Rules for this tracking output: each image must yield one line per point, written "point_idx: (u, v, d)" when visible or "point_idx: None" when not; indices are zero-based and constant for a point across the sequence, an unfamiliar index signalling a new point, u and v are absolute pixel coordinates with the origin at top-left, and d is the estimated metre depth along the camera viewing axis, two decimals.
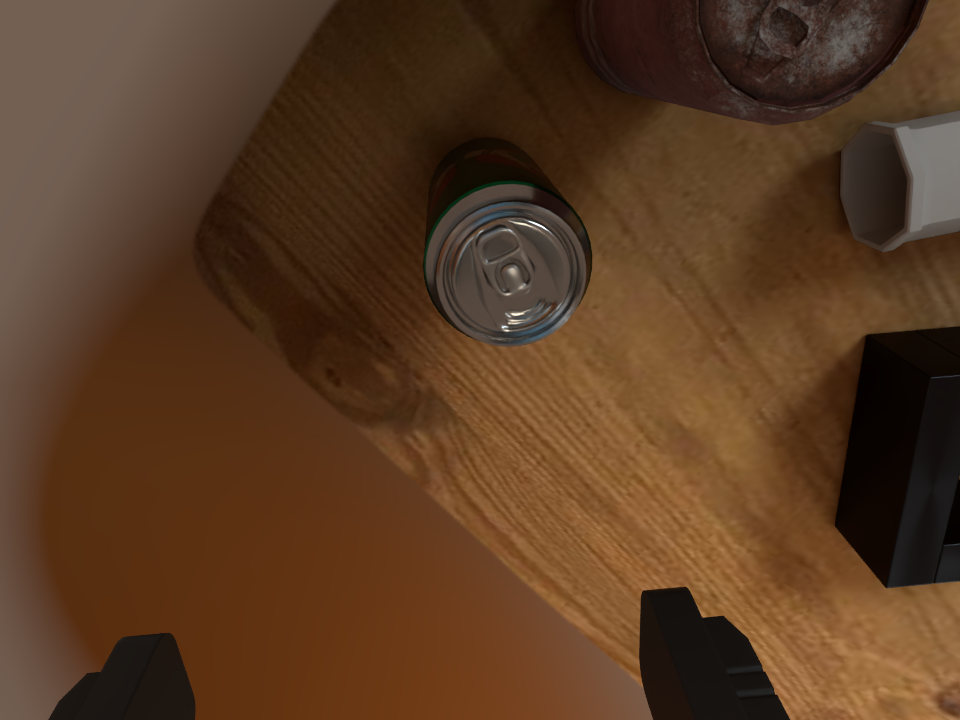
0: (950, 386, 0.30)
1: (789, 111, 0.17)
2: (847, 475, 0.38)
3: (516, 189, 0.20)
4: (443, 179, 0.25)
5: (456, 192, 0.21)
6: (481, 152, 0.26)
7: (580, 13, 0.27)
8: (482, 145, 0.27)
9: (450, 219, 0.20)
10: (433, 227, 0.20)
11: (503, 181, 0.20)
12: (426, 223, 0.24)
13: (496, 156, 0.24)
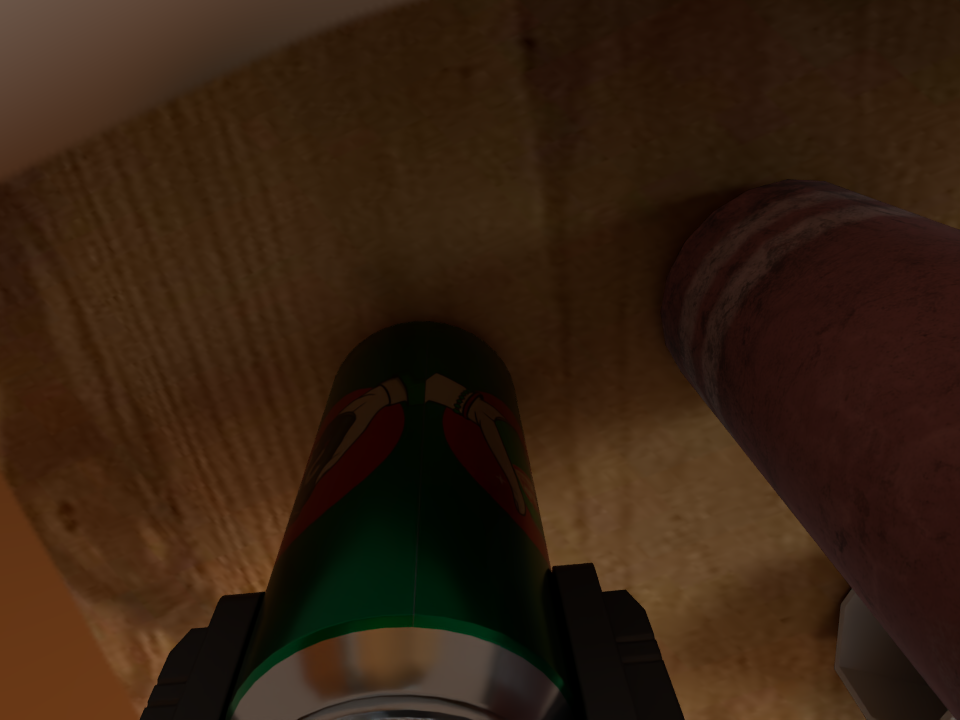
0: None
1: None
2: None
3: (501, 666, 0.09)
4: (373, 422, 0.14)
5: (380, 565, 0.10)
6: (455, 396, 0.15)
7: (700, 260, 0.16)
8: (460, 363, 0.16)
9: (338, 661, 0.09)
10: (296, 642, 0.09)
11: (483, 628, 0.09)
12: (303, 503, 0.12)
13: (478, 438, 0.14)
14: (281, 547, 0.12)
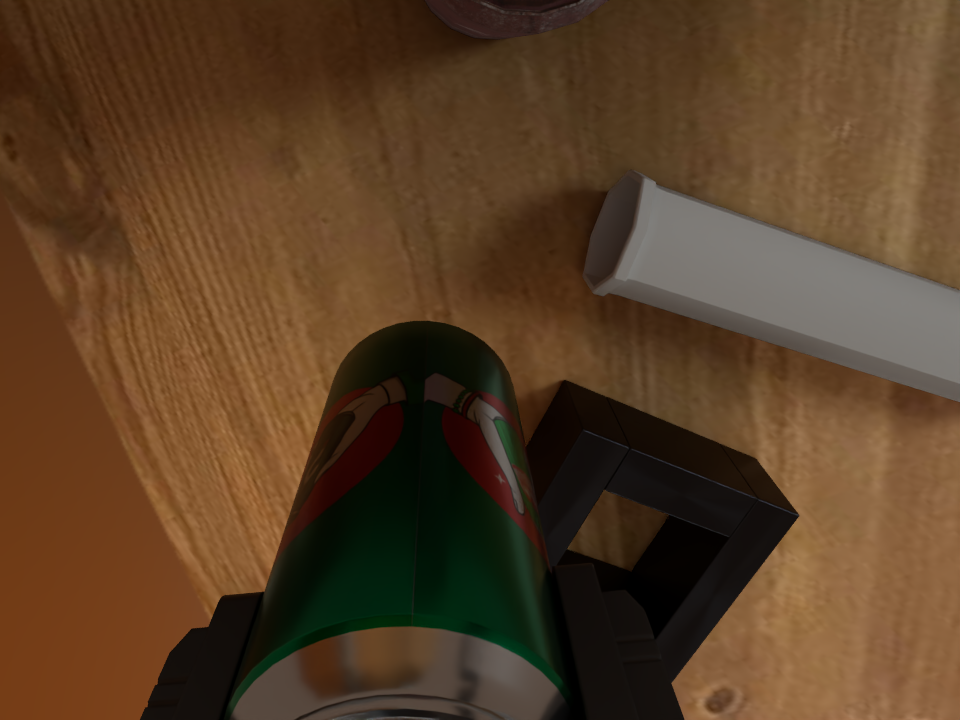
0: (596, 445, 0.31)
1: None
2: None
3: (499, 665, 0.09)
4: (372, 421, 0.14)
5: (379, 564, 0.10)
6: (454, 396, 0.15)
7: None
8: (459, 363, 0.16)
9: (337, 660, 0.09)
10: (295, 641, 0.09)
11: (482, 627, 0.09)
12: (303, 503, 0.12)
13: (477, 438, 0.14)
14: (280, 546, 0.12)
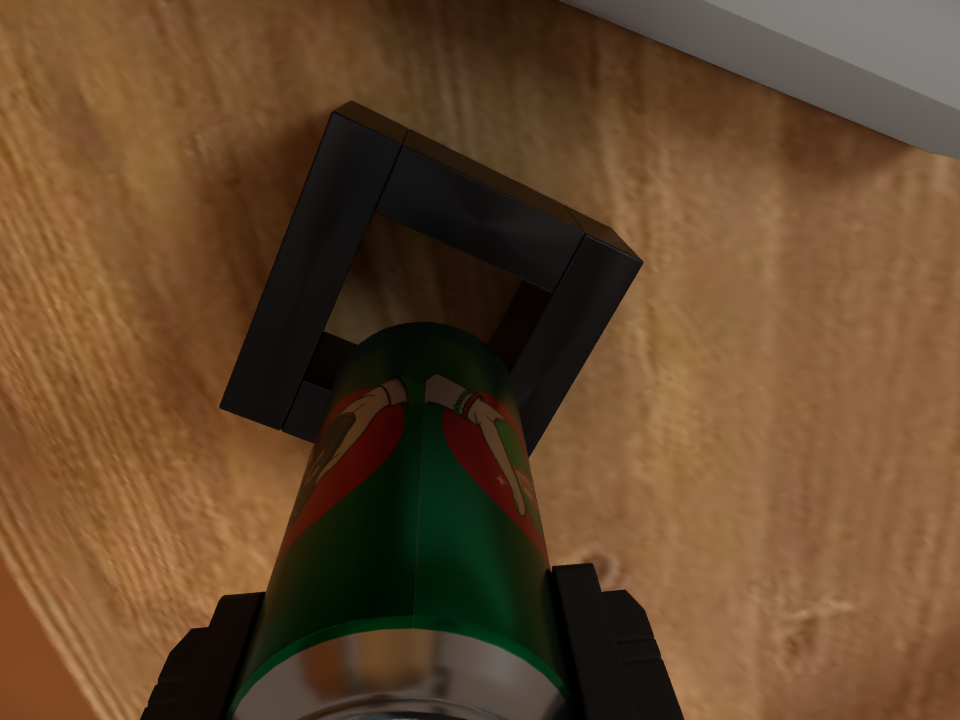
0: (354, 138, 0.23)
1: None
2: None
3: (500, 667, 0.09)
4: (373, 423, 0.14)
5: (380, 566, 0.10)
6: (455, 397, 0.15)
7: None
8: (460, 364, 0.16)
9: (338, 662, 0.09)
10: (296, 643, 0.09)
11: (483, 629, 0.09)
12: (303, 505, 0.12)
13: (478, 439, 0.14)
14: (281, 548, 0.12)
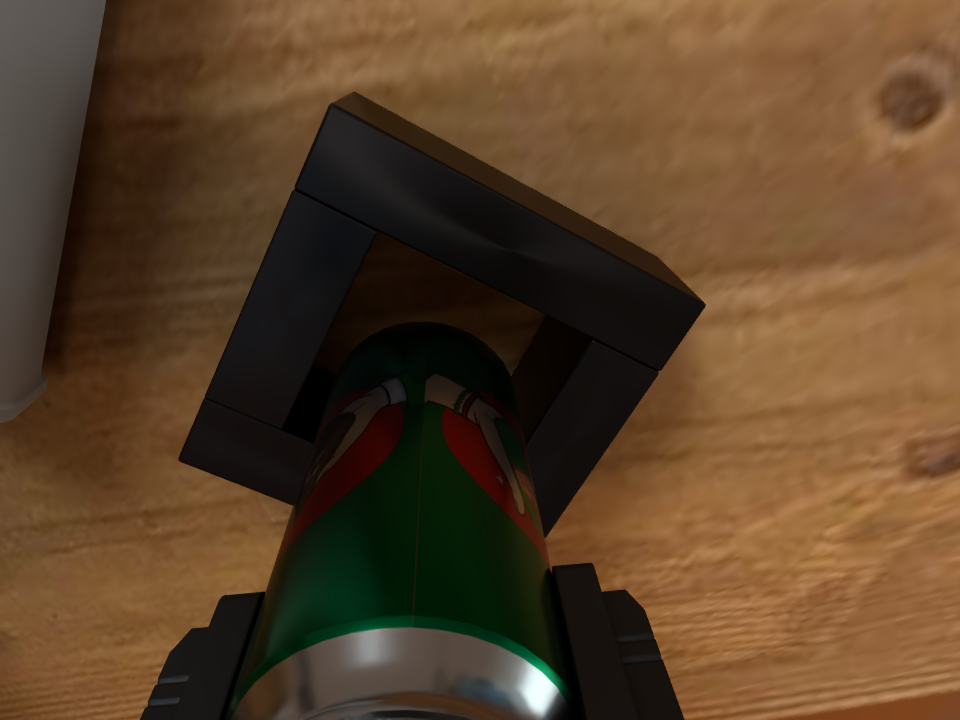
0: (203, 443, 0.21)
1: None
2: None
3: (501, 666, 0.09)
4: (373, 422, 0.14)
5: (380, 566, 0.10)
6: (455, 397, 0.15)
7: None
8: (459, 363, 0.16)
9: (338, 661, 0.09)
10: (296, 642, 0.09)
11: (483, 628, 0.09)
12: (303, 504, 0.12)
13: (477, 439, 0.14)
14: (281, 548, 0.12)
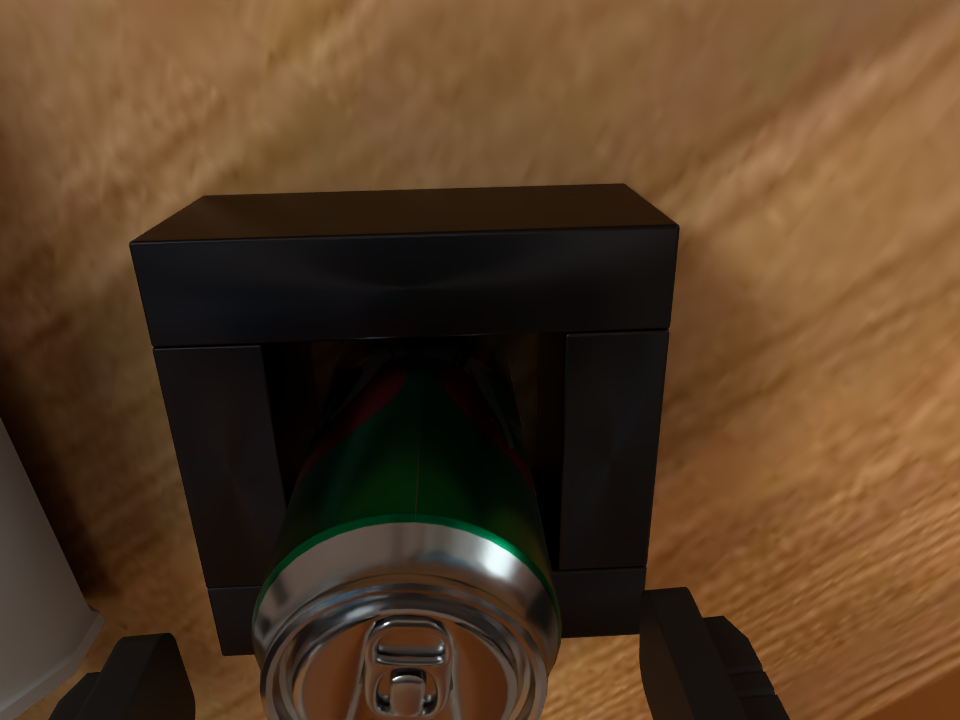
0: (234, 630, 0.19)
1: None
2: None
3: (490, 556, 0.11)
4: (378, 373, 0.15)
5: (387, 478, 0.11)
6: (452, 353, 0.16)
7: None
8: None
9: (351, 549, 0.10)
10: (316, 536, 0.11)
11: (474, 525, 0.11)
12: (317, 441, 0.14)
13: (472, 387, 0.15)
14: (298, 478, 0.14)
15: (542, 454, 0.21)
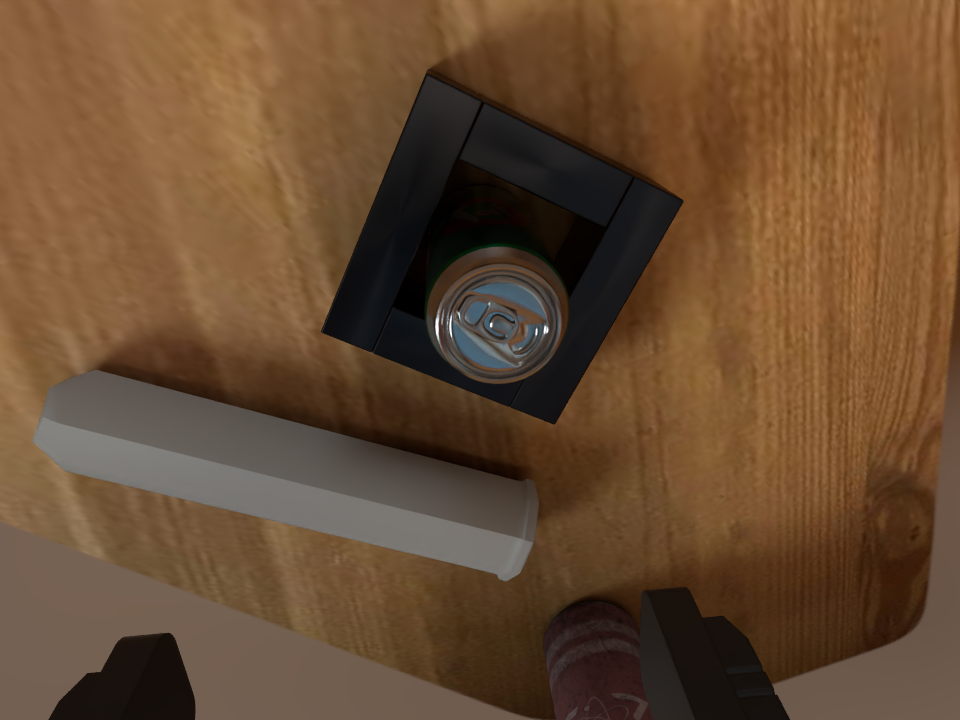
0: (541, 409, 0.33)
1: None
2: None
3: (463, 261, 0.23)
4: (427, 262, 0.29)
5: (428, 283, 0.25)
6: (444, 221, 0.29)
7: None
8: (446, 209, 0.31)
9: (431, 310, 0.24)
10: (425, 321, 0.24)
11: (452, 260, 0.24)
12: None
13: (453, 222, 0.28)
14: None
15: None
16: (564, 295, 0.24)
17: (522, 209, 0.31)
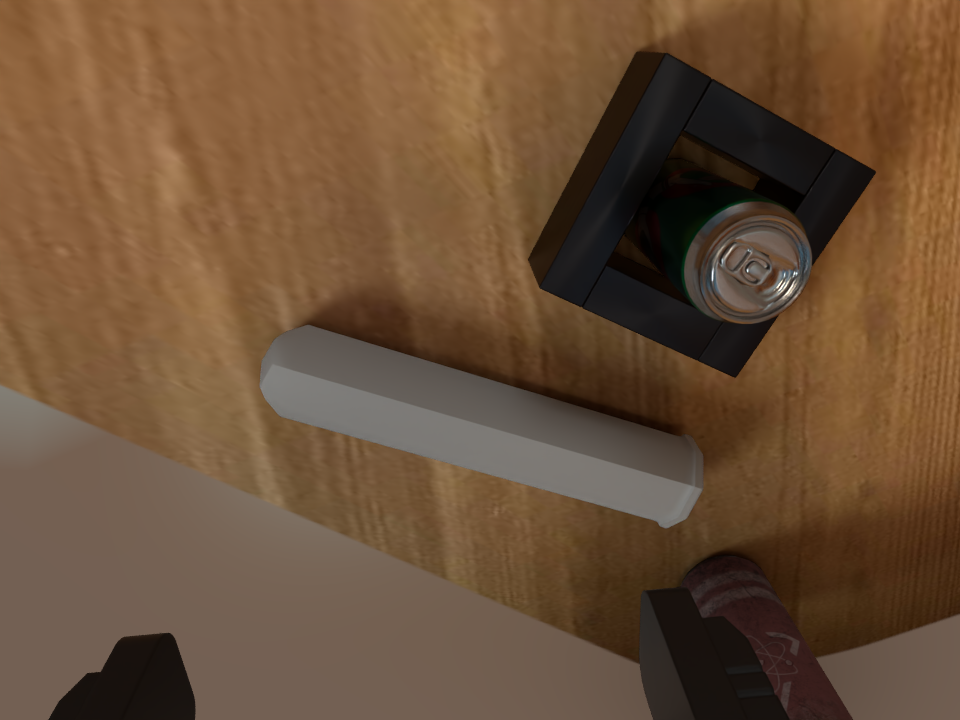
0: (726, 363, 0.36)
1: None
2: None
3: (727, 213, 0.27)
4: (647, 223, 0.32)
5: (680, 235, 0.28)
6: (660, 187, 0.33)
7: None
8: None
9: (692, 257, 0.27)
10: (681, 268, 0.28)
11: (714, 213, 0.27)
12: (657, 261, 0.31)
13: (678, 186, 0.31)
14: (666, 276, 0.31)
15: (749, 170, 0.36)
16: None
17: None
